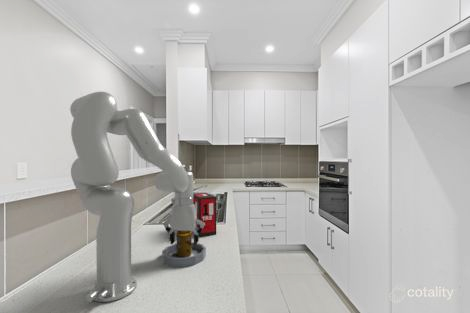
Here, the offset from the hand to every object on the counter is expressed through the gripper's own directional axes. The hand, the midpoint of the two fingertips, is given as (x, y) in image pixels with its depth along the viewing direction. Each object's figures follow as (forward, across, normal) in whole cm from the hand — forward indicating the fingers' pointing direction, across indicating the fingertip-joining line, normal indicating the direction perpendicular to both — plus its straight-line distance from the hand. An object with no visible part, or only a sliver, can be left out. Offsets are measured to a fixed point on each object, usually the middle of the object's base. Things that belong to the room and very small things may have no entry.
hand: (184, 243), depth 95 cm
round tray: (+6, 0, 0) cm, 6 cm away
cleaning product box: (+6, 0, +33) cm, 34 cm away
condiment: (+5, -1, 0) cm, 5 cm away
